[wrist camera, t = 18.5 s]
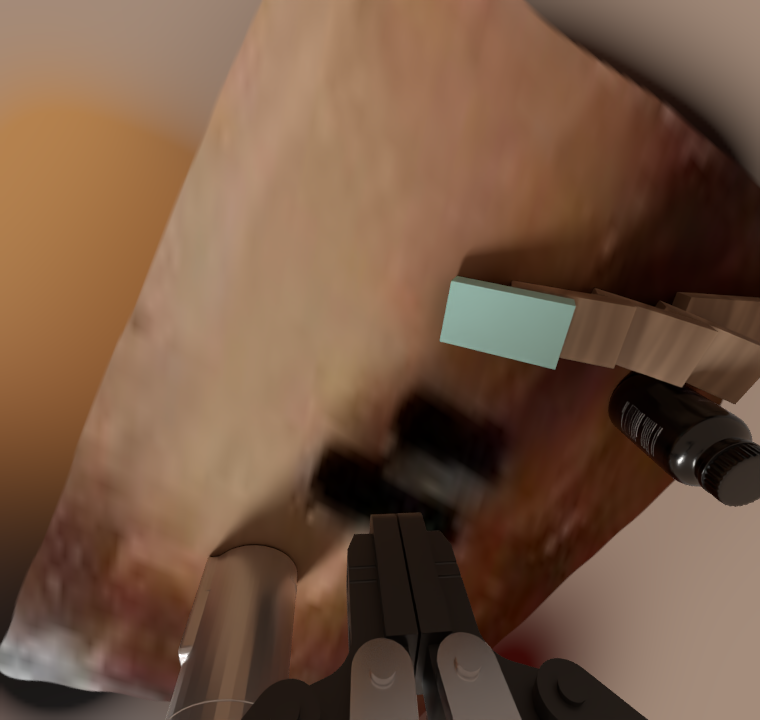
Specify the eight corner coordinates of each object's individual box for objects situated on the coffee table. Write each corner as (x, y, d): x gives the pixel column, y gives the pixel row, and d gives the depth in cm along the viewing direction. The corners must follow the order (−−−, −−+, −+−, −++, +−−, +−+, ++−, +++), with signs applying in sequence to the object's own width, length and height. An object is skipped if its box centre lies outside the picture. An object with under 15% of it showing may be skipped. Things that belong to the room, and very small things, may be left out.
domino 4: (669, 351, 37) (758, 356, 38) (691, 297, 35) (784, 303, 36) (652, 342, 39) (737, 346, 40) (672, 290, 37) (761, 296, 38)
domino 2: (497, 344, 35) (613, 368, 33) (512, 285, 33) (636, 307, 31) (498, 336, 37) (608, 358, 35) (511, 280, 35) (629, 300, 33)
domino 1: (439, 341, 34) (554, 369, 32) (451, 281, 32) (575, 306, 30) (445, 333, 36) (554, 359, 34) (456, 275, 34) (574, 299, 32)
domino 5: (629, 357, 37) (735, 404, 35) (666, 306, 34) (781, 354, 33) (624, 349, 38) (724, 392, 37) (659, 300, 36) (767, 345, 35)
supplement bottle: (638, 438, 43) (740, 529, 32) (591, 412, 41) (682, 500, 30) (688, 385, 41) (814, 465, 30) (640, 356, 39) (757, 429, 28)
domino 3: (569, 348, 36) (681, 387, 34) (597, 293, 34) (718, 332, 32) (568, 340, 38) (673, 377, 36) (594, 287, 35) (708, 323, 34)
